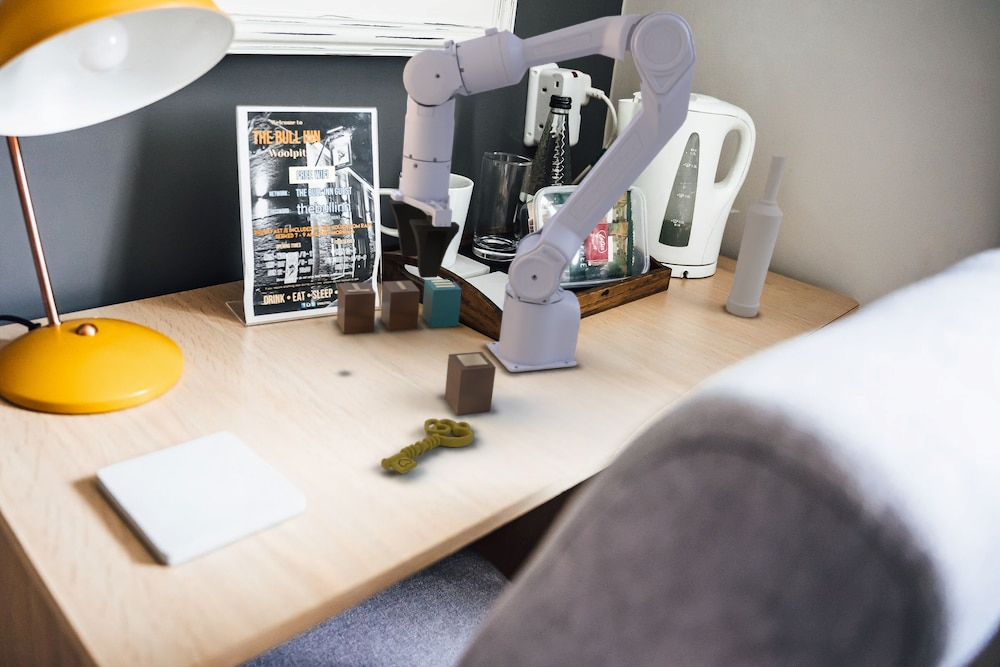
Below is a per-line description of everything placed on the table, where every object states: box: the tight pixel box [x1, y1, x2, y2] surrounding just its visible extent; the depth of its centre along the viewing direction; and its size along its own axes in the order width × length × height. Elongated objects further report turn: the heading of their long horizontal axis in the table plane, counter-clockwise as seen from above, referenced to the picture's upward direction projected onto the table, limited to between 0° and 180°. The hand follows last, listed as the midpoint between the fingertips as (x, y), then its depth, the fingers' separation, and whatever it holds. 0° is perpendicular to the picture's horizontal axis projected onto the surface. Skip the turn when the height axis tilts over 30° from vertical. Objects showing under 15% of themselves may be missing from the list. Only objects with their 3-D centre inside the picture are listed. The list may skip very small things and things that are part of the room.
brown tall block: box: [444, 351, 496, 416], centre depth 85 cm, size 4×4×6 cm
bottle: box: [725, 154, 788, 318], centre depth 119 cm, size 5×5×25 cm
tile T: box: [336, 281, 377, 335], centre depth 101 cm, size 4×4×6 cm
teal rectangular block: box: [421, 278, 463, 329], centre depth 106 cm, size 4×4×6 cm
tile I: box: [380, 280, 421, 332], centre depth 103 cm, size 4×4×6 cm
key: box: [380, 418, 474, 474], centre depth 77 cm, size 12×1×5 cm
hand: (418, 265), depth 96 cm, fingers open, 7 cm apart
